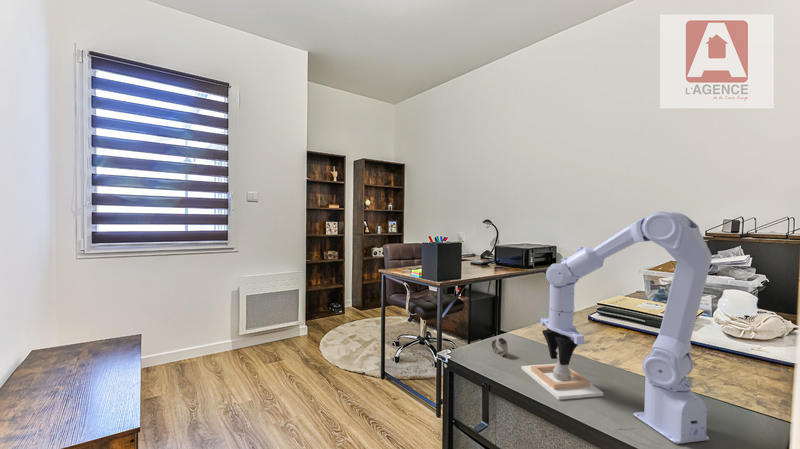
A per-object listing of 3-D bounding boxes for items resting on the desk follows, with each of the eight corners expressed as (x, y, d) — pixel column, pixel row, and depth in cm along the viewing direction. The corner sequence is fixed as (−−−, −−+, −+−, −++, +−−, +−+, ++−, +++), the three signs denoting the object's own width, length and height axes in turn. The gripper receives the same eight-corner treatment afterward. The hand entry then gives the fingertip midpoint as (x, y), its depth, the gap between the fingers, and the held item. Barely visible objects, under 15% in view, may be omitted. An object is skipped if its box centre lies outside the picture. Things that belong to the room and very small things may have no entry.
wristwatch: (501, 358, 100) (501, 341, 100) (488, 350, 106) (489, 334, 106) (510, 356, 102) (511, 340, 102) (497, 348, 107) (498, 333, 107)
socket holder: (603, 395, 80) (603, 387, 80) (558, 399, 78) (558, 391, 77) (559, 366, 95) (559, 359, 95) (521, 368, 93) (521, 361, 93)
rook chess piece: (574, 382, 84) (574, 351, 84) (555, 380, 85) (555, 350, 85) (568, 373, 89) (568, 344, 88) (550, 372, 89) (551, 343, 89)
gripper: (596, 317, 80) (594, 373, 80) (557, 301, 94) (555, 349, 94) (569, 318, 78) (568, 375, 79) (534, 302, 93) (532, 350, 93)
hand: (559, 361), depth 86 cm, fingers closed on rook chess piece, 3 cm apart
